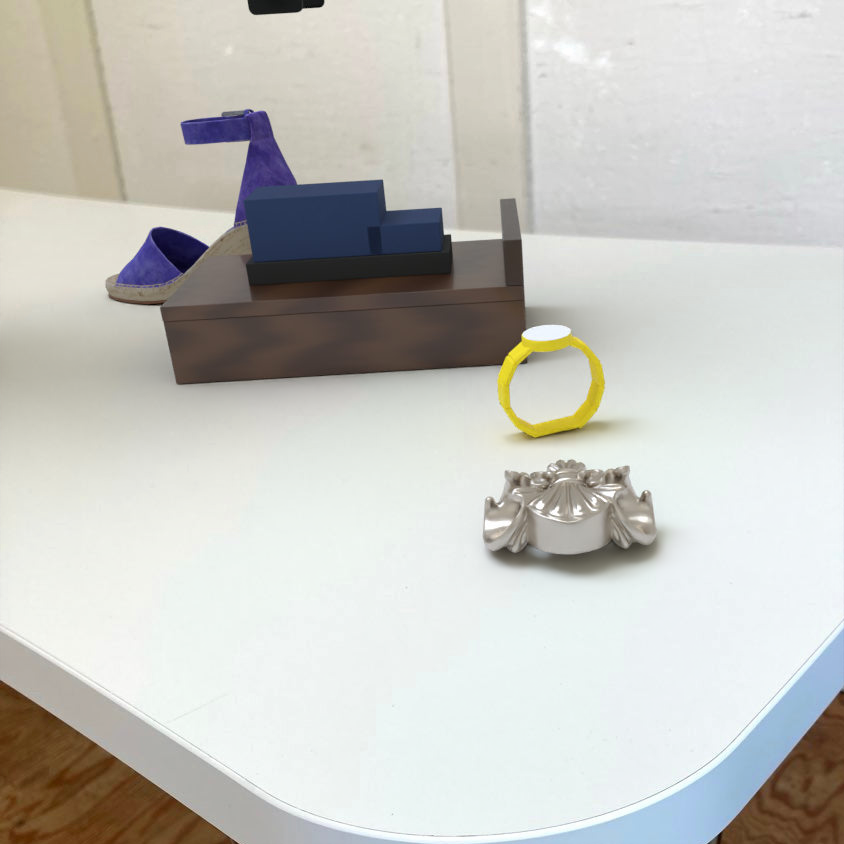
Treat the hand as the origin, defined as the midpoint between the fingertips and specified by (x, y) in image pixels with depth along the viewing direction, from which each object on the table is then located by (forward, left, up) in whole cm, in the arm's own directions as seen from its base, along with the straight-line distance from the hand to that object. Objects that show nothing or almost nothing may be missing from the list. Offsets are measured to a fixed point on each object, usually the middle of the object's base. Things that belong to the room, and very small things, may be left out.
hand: (290, 10), depth 68 cm
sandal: (-13, +16, -22) cm, 31 cm away
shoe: (+2, 0, -17) cm, 17 cm away
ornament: (+15, -32, -22) cm, 42 cm away
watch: (+15, -19, -22) cm, 33 cm away
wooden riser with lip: (+2, 0, -22) cm, 22 cm away
